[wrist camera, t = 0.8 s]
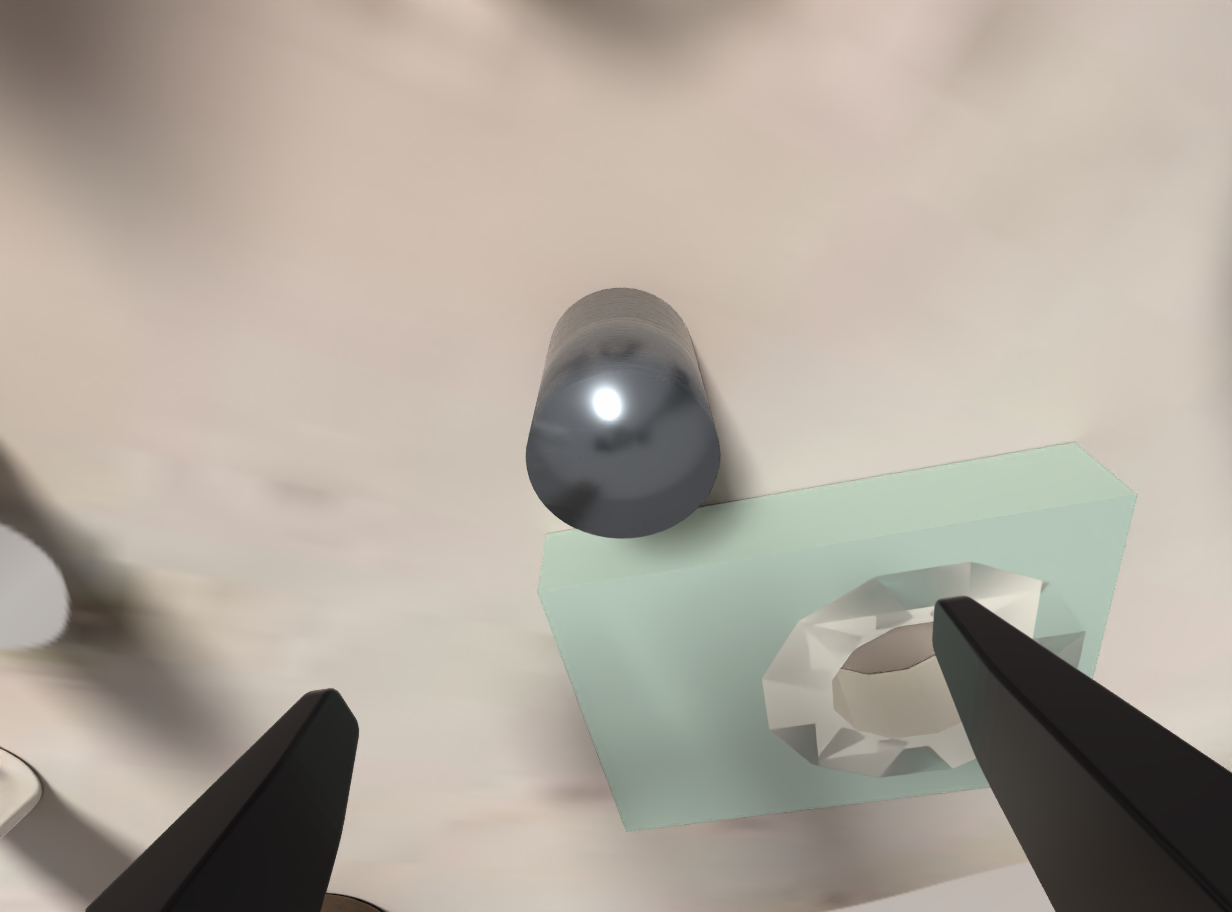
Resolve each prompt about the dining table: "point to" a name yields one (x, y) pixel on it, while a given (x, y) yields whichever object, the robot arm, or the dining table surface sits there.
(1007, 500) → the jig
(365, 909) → the plant pot
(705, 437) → the dark metal cylinder
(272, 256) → the dining table surface
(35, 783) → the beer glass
